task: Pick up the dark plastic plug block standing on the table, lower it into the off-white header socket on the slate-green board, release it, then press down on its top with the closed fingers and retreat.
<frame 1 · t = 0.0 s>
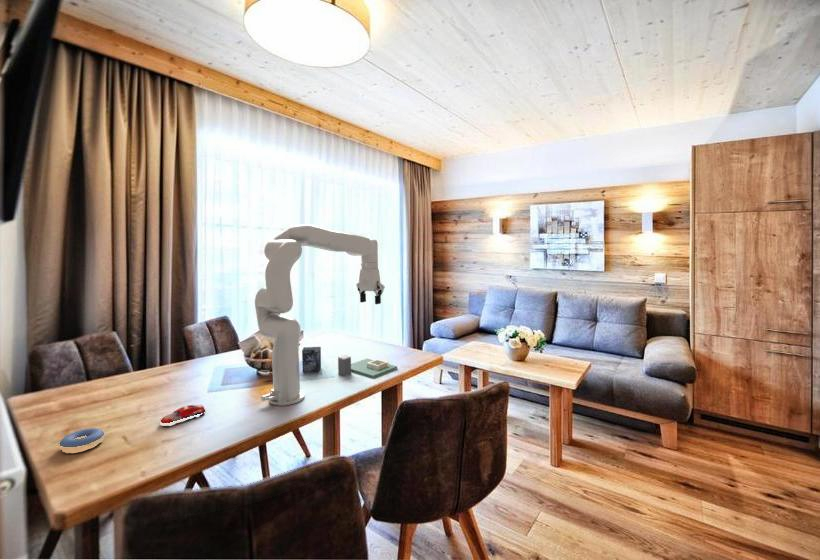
hand: (370, 302, 172), 31 cm above the table, tool pointing down, fingers open, 9 cm apart
board: (370, 368, 174), on the table
race car: (183, 420, 124), on the table
doughnut: (83, 447, 107), on the table
box: (312, 370, 173), on the table
plug: (344, 374, 167), on the table
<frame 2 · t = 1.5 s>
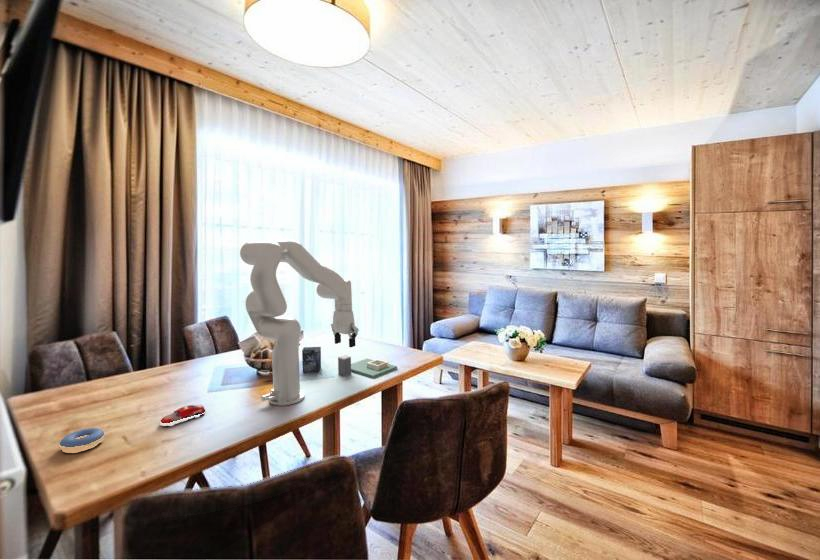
hand: (345, 344, 167), 13 cm above the table, tool pointing down, fingers open, 9 cm apart
nothing on the table moved.
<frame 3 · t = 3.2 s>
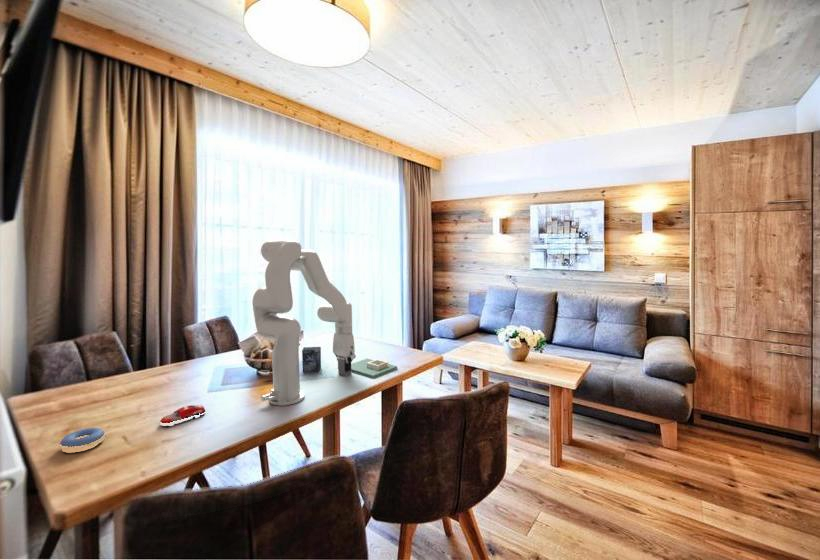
hand: (344, 369, 167), 2 cm above the table, tool pointing down, fingers closed on plug, 4 cm apart
plug: (344, 374, 167), on the table, touching gripper
everything else where it was.
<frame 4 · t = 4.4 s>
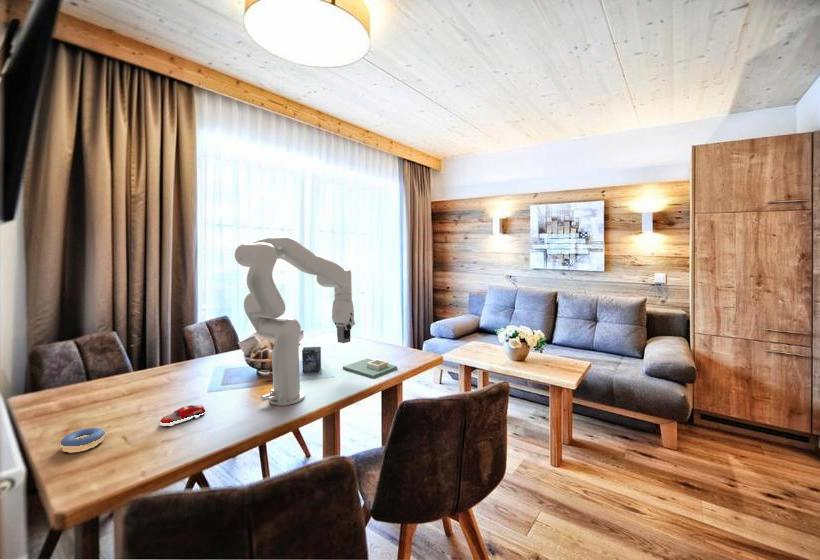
hand: (343, 337, 166), 17 cm above the table, tool pointing down, fingers closed on plug, 4 cm apart
plug: (344, 341, 166), point 15 cm above the table, touching gripper
everything else where it was.
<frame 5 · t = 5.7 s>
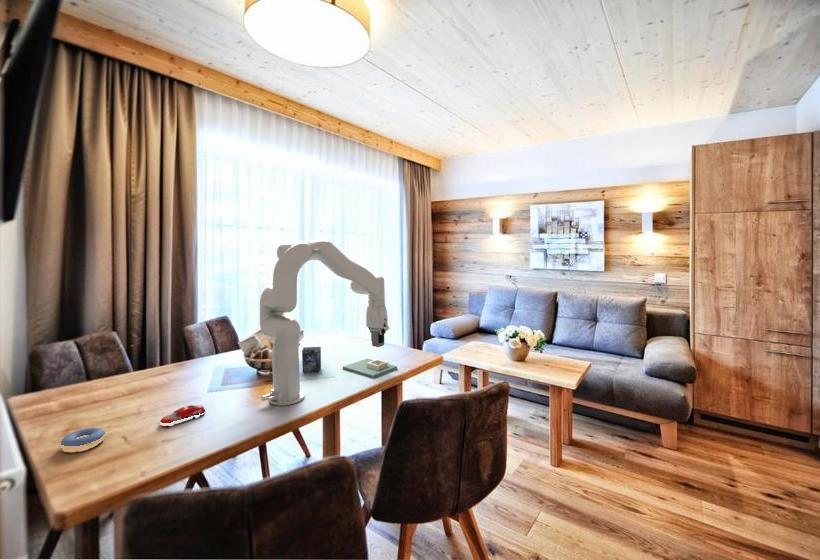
hand: (377, 341, 173), 13 cm above the table, tool pointing down, fingers closed on plug, 4 cm apart
plug: (378, 345, 173), point 11 cm above the table, touching gripper
everything else where it was.
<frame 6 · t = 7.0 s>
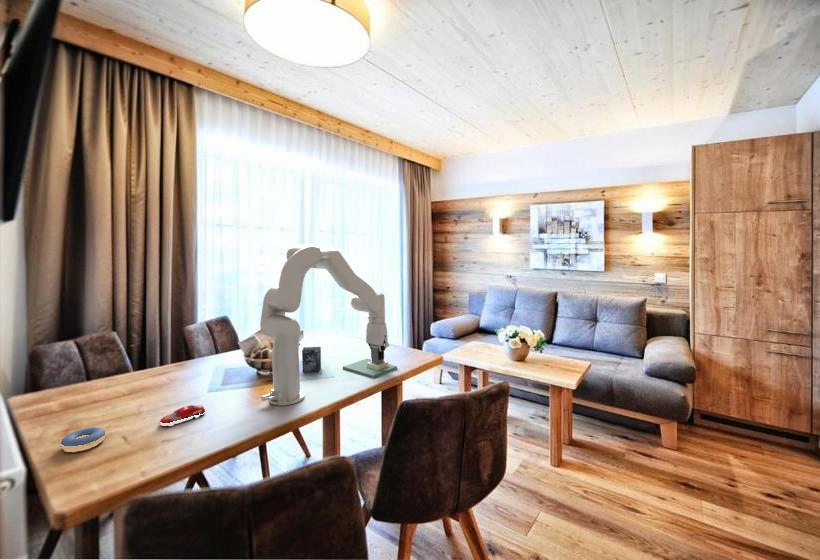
hand: (377, 358, 173), 5 cm above the table, tool pointing down, fingers closed on plug, 4 cm apart
plug: (377, 362, 174), point 3 cm above the table, touching gripper
everything else where it was.
when the fingers open (4 cm above the table, at t = 7.6 s): plug stays where it is, resting on board.
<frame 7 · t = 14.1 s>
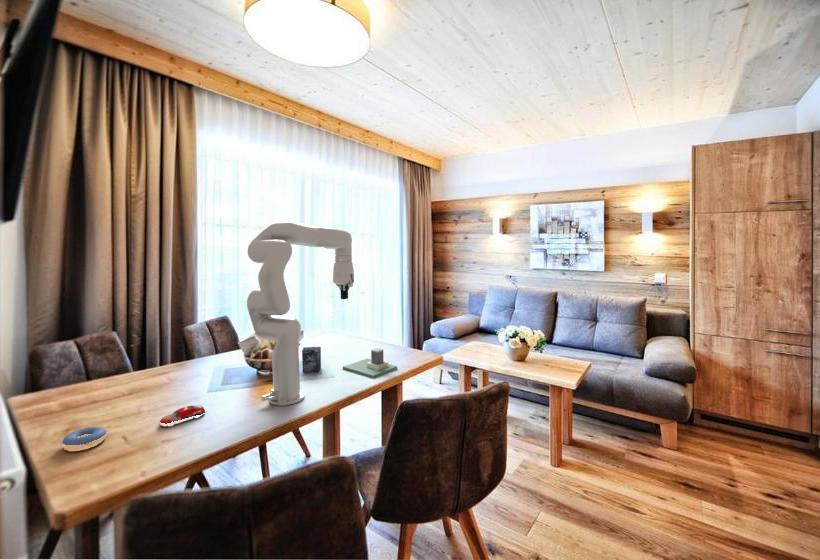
hand: (344, 298, 173), 33 cm above the table, tool pointing down, fingers closed
plug: (377, 366, 174), point 1 cm above the table, touching board
everything else where it was.
at the end: plug 0.0 cm from the target spot on the board, point 1.3 cm above the board's base; plug tilted 0°; the gripper is holding nothing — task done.
